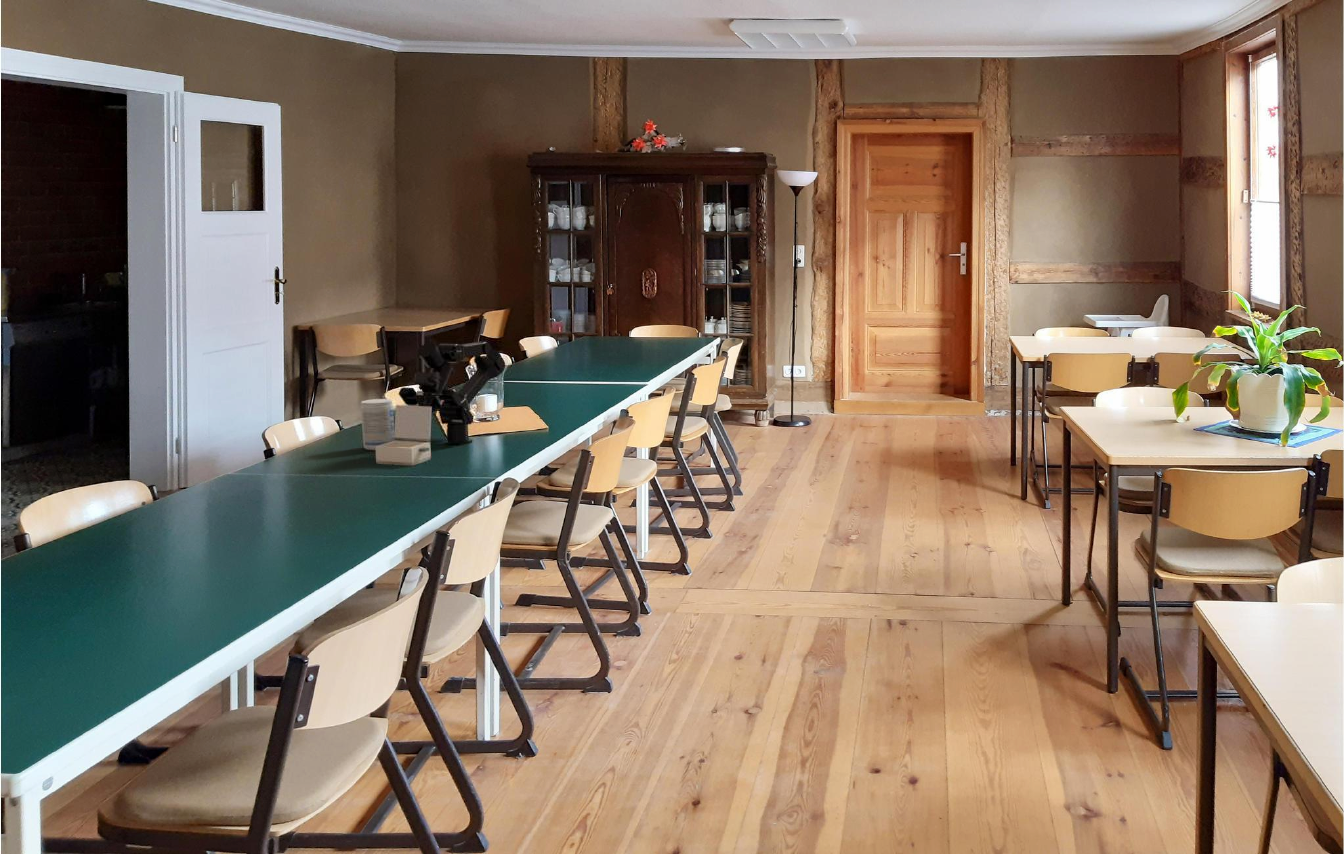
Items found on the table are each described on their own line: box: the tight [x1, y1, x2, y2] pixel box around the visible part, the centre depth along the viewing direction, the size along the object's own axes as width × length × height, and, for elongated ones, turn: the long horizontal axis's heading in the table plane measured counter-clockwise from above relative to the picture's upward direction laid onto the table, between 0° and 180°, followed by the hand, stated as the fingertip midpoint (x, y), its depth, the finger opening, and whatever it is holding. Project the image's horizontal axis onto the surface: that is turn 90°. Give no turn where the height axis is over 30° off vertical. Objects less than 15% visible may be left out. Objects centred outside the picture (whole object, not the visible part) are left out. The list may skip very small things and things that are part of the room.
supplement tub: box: [360, 398, 396, 451], centre depth 383 cm, size 10×10×15 cm
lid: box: [394, 404, 432, 443], centre depth 366 cm, size 10×12×2 cm
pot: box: [375, 440, 432, 467], centre depth 362 cm, size 10×16×5 cm, turn 69°
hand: (420, 419), depth 369 cm, fingers closed
